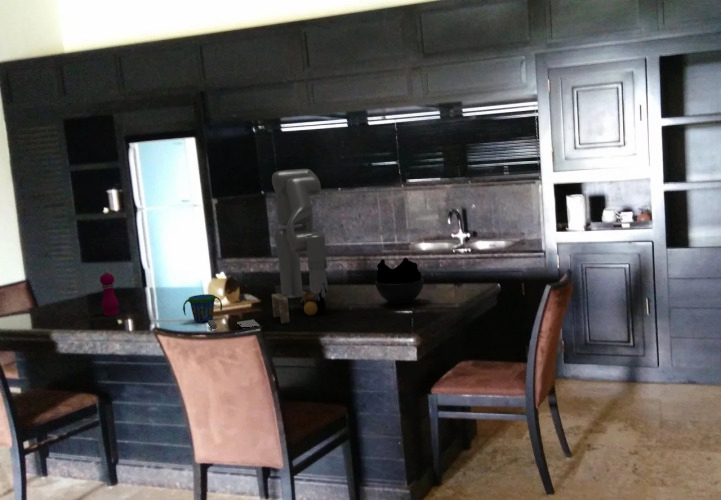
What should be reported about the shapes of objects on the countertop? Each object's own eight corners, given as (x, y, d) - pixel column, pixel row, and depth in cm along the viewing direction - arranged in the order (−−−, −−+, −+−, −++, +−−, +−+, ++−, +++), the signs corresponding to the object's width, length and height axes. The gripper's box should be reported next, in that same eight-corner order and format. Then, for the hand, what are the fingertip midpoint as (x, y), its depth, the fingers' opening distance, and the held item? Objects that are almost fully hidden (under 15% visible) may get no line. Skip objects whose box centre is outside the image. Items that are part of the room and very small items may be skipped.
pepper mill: (123, 312, 341) (117, 268, 338) (113, 316, 334) (107, 271, 332) (109, 312, 344) (104, 268, 341) (99, 316, 337) (93, 271, 334)
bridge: (282, 323, 296) (280, 300, 295) (273, 316, 309) (271, 294, 308) (289, 322, 297) (287, 299, 296) (280, 315, 310) (278, 293, 309)
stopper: (208, 326, 300) (207, 320, 299) (213, 326, 300) (212, 319, 300) (212, 331, 291) (211, 325, 291) (217, 330, 292) (216, 324, 292)
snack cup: (222, 316, 318) (220, 292, 316) (224, 321, 308) (221, 296, 306) (184, 320, 314) (181, 296, 313) (184, 326, 304) (181, 301, 303)
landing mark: (223, 324, 302) (223, 324, 302) (253, 320, 306) (253, 319, 306) (229, 330, 290) (228, 330, 290) (259, 325, 294) (259, 325, 294)
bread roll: (318, 315, 322) (324, 298, 320) (296, 306, 323) (302, 289, 322) (323, 310, 332) (330, 293, 330) (302, 301, 333) (308, 284, 331)
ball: (315, 310, 311) (303, 315, 308) (312, 298, 309) (300, 302, 307) (321, 313, 306) (308, 318, 304) (317, 301, 304) (305, 306, 302)
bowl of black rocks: (435, 300, 316) (432, 256, 313) (404, 310, 302) (401, 264, 299) (398, 296, 330) (395, 254, 327) (367, 306, 315) (363, 261, 313)
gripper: (303, 264, 311) (307, 307, 314) (314, 268, 298) (318, 314, 300) (320, 261, 314) (324, 305, 317) (332, 266, 300) (336, 311, 303)
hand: (321, 309), depth 308 cm, fingers closed
